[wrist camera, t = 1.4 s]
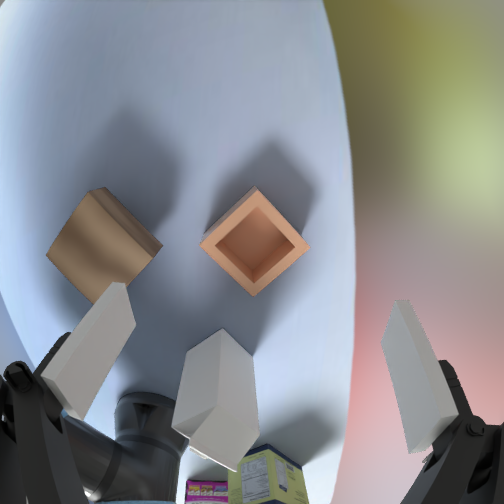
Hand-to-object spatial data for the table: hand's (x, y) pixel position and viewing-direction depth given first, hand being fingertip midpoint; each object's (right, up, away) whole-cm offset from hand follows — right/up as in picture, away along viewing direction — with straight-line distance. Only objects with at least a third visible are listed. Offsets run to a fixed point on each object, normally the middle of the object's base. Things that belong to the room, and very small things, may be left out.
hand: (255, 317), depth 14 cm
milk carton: (-5, -12, +29) cm, 32 cm away
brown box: (-18, +4, +20) cm, 27 cm away
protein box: (+3, -44, +40) cm, 59 cm away
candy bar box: (-11, -55, +43) cm, 70 cm away
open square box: (0, +5, +23) cm, 24 cm away
